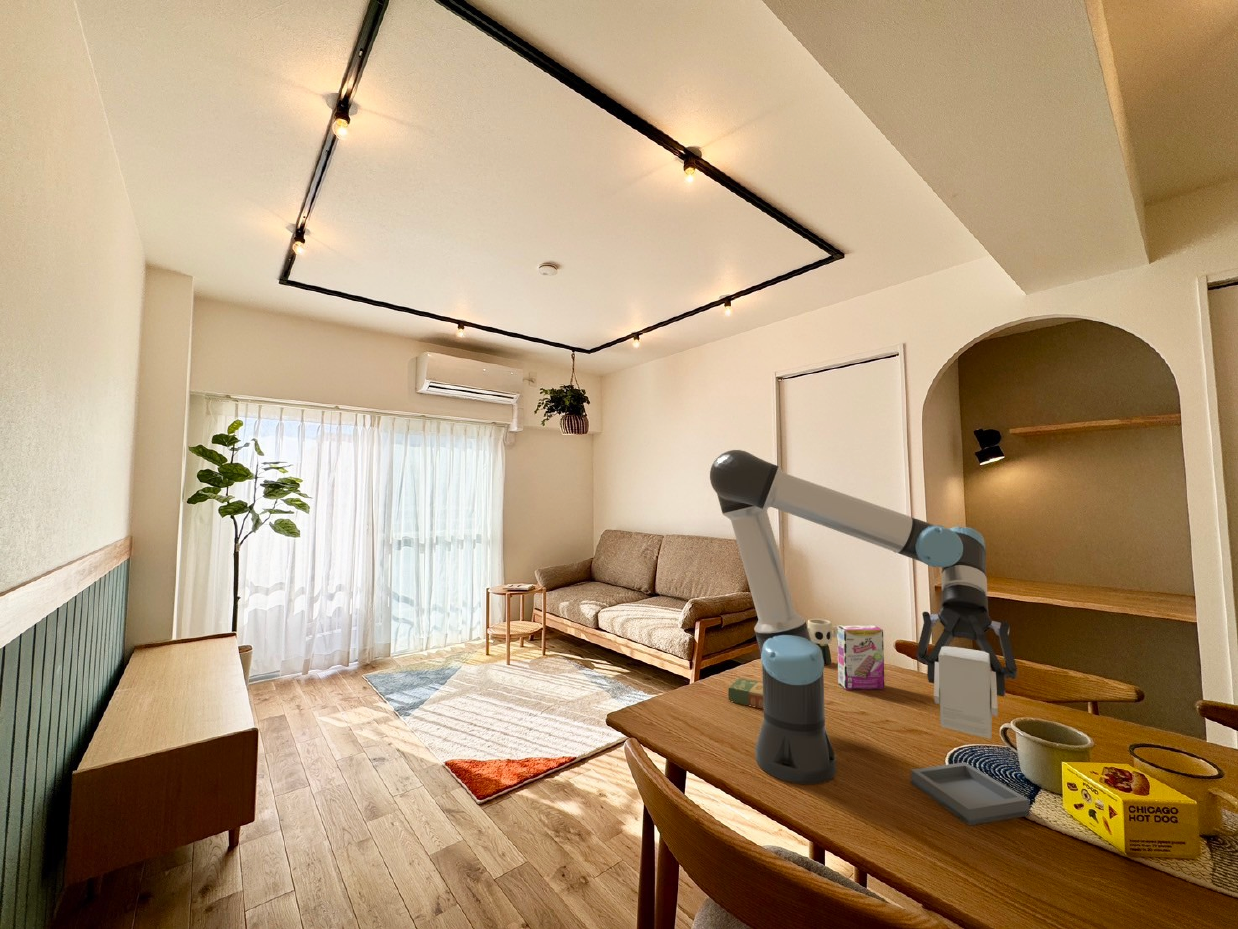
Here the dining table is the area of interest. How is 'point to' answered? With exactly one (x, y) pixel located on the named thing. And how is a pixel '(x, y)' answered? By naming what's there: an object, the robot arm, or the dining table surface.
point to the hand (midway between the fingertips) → (965, 705)
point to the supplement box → (965, 691)
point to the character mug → (822, 636)
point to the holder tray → (970, 793)
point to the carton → (746, 692)
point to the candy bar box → (860, 657)
